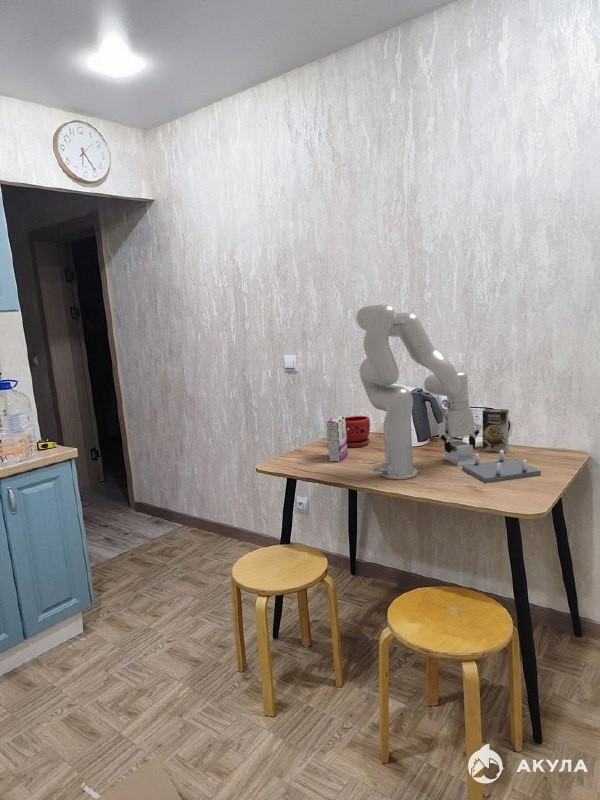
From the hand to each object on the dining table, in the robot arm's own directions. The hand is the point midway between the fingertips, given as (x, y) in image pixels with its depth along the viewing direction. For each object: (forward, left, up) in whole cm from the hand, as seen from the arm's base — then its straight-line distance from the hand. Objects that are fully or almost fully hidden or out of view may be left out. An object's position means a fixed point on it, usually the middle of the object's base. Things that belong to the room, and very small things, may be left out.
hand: (460, 450), depth 204 cm
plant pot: (-28, +42, -5) cm, 50 cm away
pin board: (+5, -18, -4) cm, 19 cm away
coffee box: (+19, +8, -5) cm, 21 cm away
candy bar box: (-41, +24, -5) cm, 47 cm away
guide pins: (+5, -18, -3) cm, 19 cm away
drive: (-1, 0, -4) cm, 4 cm away
